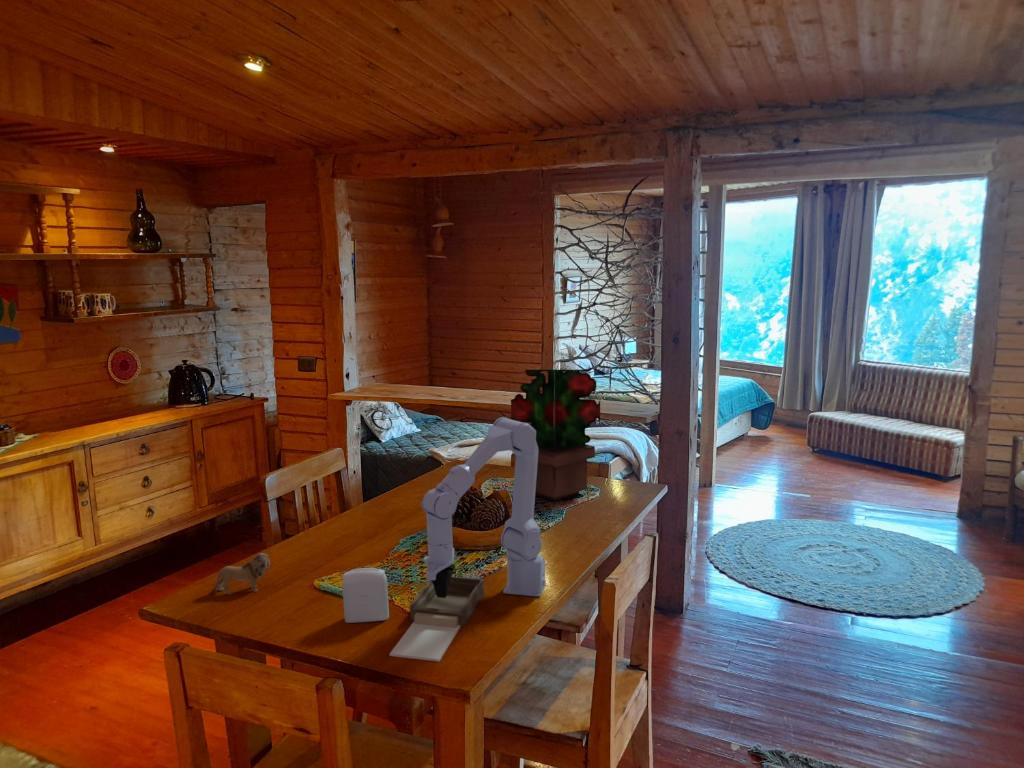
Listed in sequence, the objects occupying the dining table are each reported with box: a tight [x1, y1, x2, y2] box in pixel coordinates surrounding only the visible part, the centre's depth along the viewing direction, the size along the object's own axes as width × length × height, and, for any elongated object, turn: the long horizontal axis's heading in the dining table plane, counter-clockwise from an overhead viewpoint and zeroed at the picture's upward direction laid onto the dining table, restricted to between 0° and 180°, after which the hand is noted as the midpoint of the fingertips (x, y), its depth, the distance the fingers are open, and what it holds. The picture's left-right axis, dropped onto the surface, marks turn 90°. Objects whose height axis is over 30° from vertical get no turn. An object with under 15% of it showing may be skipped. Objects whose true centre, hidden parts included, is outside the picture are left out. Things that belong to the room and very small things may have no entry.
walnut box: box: [409, 575, 485, 628], centre depth 175 cm, size 17×13×4 cm
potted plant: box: [510, 367, 601, 502], centre depth 257 cm, size 22×22×45 cm
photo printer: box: [341, 567, 390, 624], centre depth 169 cm, size 10×4×12 cm, turn 96°
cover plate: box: [389, 612, 461, 662], centre depth 160 cm, size 15×11×3 cm
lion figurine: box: [210, 552, 271, 596], centre depth 186 cm, size 15×5×9 cm, turn 111°
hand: (442, 596), depth 170 cm, fingers closed
